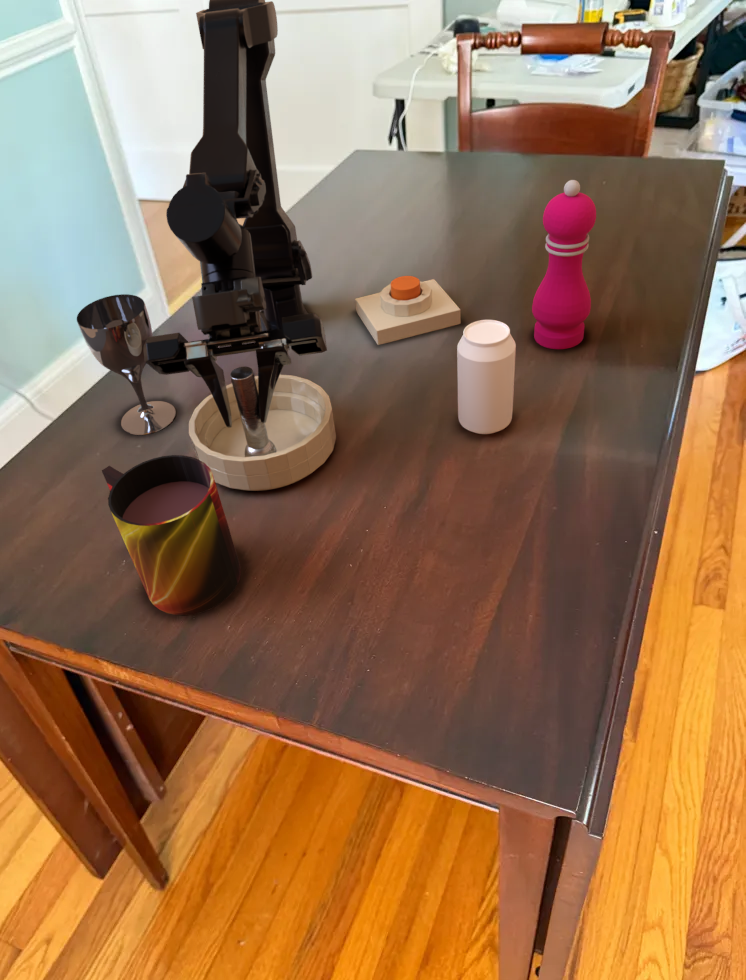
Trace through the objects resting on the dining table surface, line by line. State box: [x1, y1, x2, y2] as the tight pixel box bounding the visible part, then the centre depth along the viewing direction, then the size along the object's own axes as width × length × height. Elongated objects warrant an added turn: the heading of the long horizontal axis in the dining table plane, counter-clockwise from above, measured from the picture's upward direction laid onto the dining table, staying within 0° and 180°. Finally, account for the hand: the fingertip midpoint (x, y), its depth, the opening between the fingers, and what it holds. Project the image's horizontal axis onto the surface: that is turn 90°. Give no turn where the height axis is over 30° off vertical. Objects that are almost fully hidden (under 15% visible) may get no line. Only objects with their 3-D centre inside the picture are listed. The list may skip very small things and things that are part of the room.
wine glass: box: [76, 293, 177, 436], centre depth 95 cm, size 8×8×15 cm
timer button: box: [390, 275, 421, 300], centre depth 107 cm, size 4×4×2 cm
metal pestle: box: [229, 366, 277, 457], centre depth 84 cm, size 4×4×12 cm
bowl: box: [188, 374, 337, 492], centre depth 91 cm, size 16×17×5 cm
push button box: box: [354, 278, 462, 346], centre depth 109 cm, size 10×12×4 cm
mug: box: [101, 454, 242, 616], centre depth 75 cm, size 10×14×12 cm
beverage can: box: [456, 319, 517, 435], centre depth 87 cm, size 6×6×12 cm
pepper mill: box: [531, 179, 597, 350], centre depth 95 cm, size 7×7×20 cm
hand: (245, 424), depth 83 cm, fingers open, 3 cm apart
